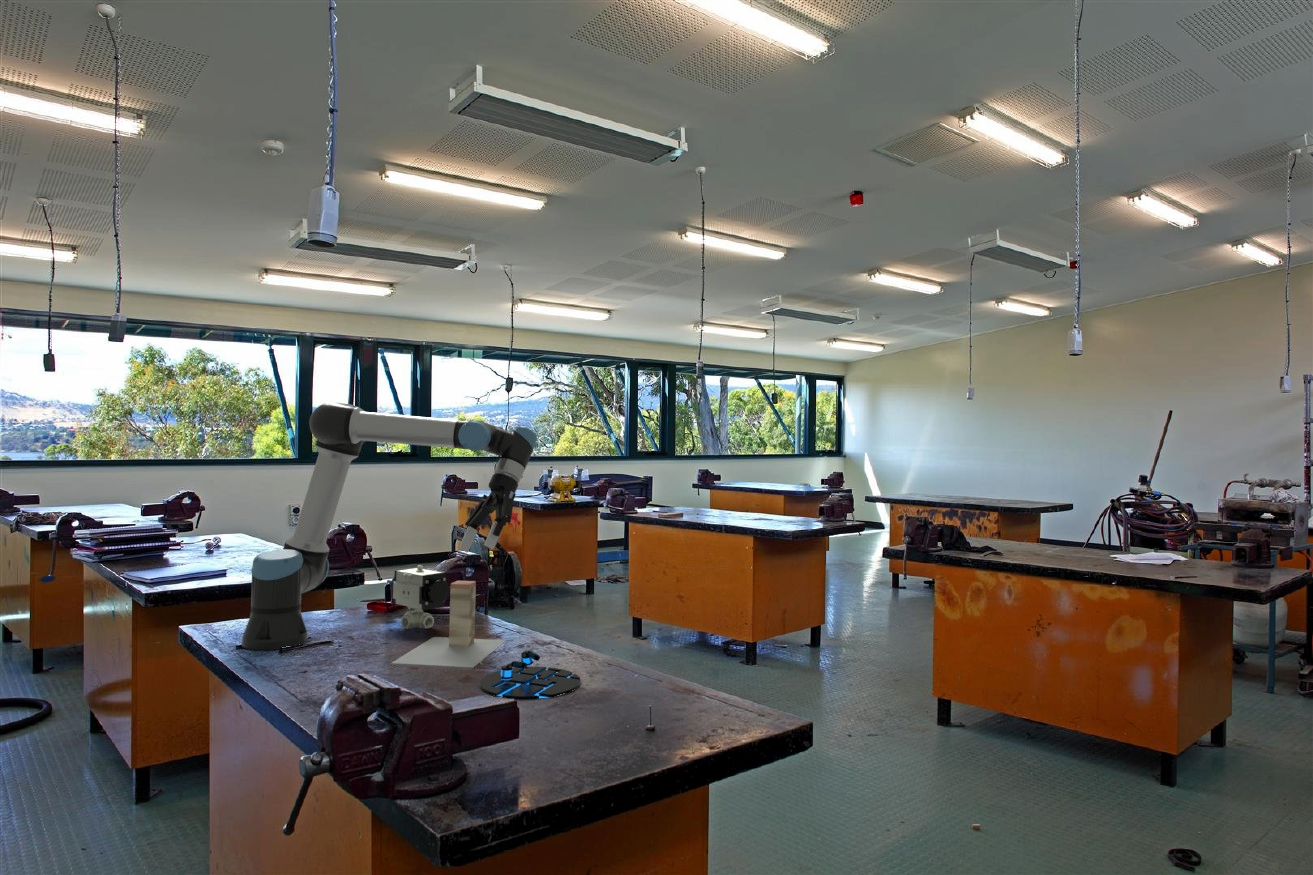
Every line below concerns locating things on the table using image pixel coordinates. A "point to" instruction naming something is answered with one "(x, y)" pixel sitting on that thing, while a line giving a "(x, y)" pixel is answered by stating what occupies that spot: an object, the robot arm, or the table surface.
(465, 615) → the birch block
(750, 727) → the table surface
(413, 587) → the ball valve
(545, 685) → the platform
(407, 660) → the rubber mat
